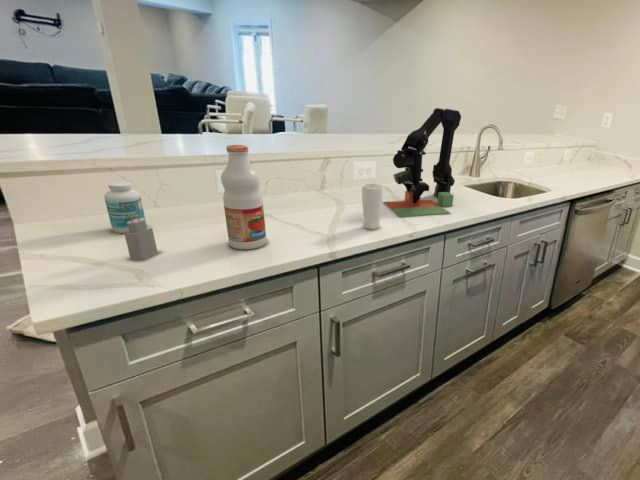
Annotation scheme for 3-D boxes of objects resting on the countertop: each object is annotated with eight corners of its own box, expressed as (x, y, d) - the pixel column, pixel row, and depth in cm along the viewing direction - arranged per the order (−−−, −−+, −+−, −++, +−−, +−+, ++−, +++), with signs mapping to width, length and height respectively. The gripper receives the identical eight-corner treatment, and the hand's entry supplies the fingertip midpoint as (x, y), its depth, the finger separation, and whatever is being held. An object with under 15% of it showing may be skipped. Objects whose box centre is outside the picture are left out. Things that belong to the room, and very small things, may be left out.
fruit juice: (235, 236, 114) (223, 141, 104) (270, 238, 117) (262, 145, 106) (223, 249, 106) (209, 147, 95) (261, 250, 108) (251, 151, 98)
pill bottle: (109, 234, 105) (96, 187, 100) (117, 225, 111) (105, 179, 106) (144, 233, 109) (133, 187, 103) (150, 224, 114) (140, 180, 109)
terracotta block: (415, 201, 169) (416, 190, 167) (419, 205, 165) (420, 194, 163) (404, 202, 166) (405, 191, 164) (409, 205, 162) (409, 194, 160)
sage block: (447, 202, 175) (448, 191, 173) (452, 205, 172) (453, 195, 170) (437, 202, 173) (438, 192, 171) (442, 206, 169) (443, 195, 167)
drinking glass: (376, 232, 132) (377, 190, 126) (357, 228, 133) (358, 186, 127) (384, 226, 138) (385, 185, 132) (367, 222, 139) (367, 182, 133)
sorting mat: (431, 200, 174) (431, 199, 174) (449, 213, 161) (449, 212, 161) (384, 202, 163) (384, 202, 162) (400, 217, 149) (400, 216, 149)
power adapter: (128, 259, 95) (117, 213, 90) (147, 250, 100) (137, 207, 95) (141, 261, 95) (130, 215, 90) (159, 252, 100) (149, 209, 95)
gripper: (388, 160, 162) (386, 195, 168) (405, 171, 148) (403, 209, 154) (412, 160, 168) (410, 195, 174) (431, 171, 154) (428, 208, 160)
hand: (412, 201), depth 165 cm, fingers closed on terracotta block, 5 cm apart
